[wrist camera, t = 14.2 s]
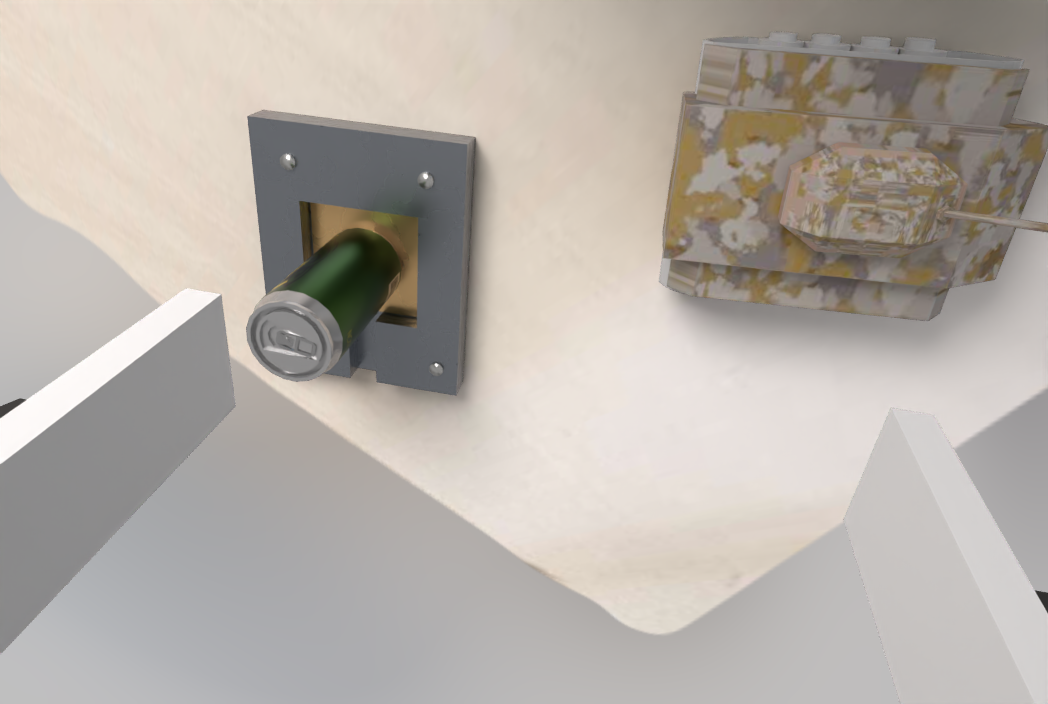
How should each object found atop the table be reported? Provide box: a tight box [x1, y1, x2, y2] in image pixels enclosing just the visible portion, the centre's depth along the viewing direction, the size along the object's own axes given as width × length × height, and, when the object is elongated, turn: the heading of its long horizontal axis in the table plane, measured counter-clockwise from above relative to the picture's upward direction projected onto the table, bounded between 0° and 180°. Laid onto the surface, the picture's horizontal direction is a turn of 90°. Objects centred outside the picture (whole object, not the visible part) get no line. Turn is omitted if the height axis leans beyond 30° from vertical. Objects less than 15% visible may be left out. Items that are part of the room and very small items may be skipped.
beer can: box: [246, 228, 401, 382], centre depth 44 cm, size 5×5×12 cm
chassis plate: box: [247, 110, 475, 395], centre depth 49 cm, size 18×14×2 cm
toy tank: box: [659, 32, 1048, 321], centre depth 38 cm, size 15×20×10 cm
